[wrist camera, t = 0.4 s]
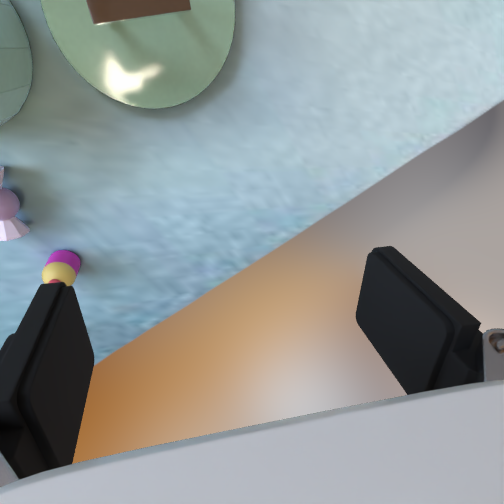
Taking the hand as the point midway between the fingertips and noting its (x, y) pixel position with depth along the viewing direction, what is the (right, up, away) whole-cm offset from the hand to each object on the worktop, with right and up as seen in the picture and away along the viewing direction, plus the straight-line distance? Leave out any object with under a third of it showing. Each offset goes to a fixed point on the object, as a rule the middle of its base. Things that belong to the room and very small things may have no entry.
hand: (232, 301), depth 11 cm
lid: (-7, +20, +15) cm, 26 cm away
